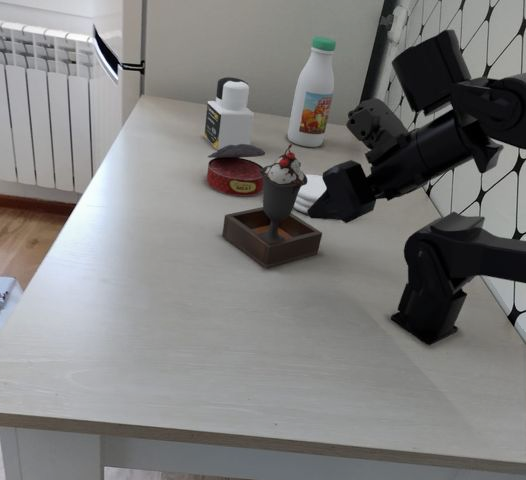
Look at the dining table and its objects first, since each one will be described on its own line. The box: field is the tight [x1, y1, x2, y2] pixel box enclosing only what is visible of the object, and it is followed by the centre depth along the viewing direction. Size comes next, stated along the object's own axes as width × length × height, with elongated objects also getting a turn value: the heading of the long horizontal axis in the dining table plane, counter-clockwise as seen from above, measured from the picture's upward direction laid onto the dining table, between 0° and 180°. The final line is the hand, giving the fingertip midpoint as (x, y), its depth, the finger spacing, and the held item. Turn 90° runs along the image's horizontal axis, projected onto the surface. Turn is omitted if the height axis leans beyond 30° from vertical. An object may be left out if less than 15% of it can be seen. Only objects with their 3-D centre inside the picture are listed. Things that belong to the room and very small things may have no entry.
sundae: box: [258, 143, 307, 243], centre depth 81 cm, size 7×7×15 cm
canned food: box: [206, 144, 266, 197], centre depth 100 cm, size 11×10×10 cm
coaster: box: [293, 174, 327, 215], centre depth 99 cm, size 10×10×4 cm
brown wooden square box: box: [221, 206, 323, 270], centre depth 85 cm, size 10×10×4 cm
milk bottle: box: [287, 36, 337, 148], centre depth 120 cm, size 8×8×20 cm
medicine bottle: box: [204, 76, 255, 151], centre depth 114 cm, size 7×7×12 cm
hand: (329, 205), depth 77 cm, fingers open, 9 cm apart
